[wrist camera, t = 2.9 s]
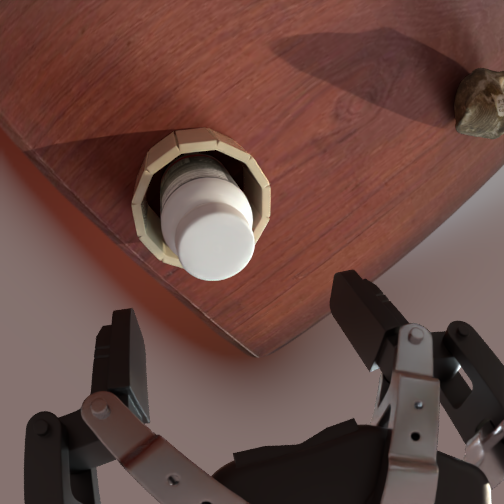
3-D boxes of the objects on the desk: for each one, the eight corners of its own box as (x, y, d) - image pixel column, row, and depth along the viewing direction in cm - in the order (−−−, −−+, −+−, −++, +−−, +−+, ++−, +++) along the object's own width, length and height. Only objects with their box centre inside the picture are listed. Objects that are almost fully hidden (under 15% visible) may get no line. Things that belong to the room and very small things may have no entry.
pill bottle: (231, 211, 26) (268, 282, 18) (166, 222, 25) (173, 301, 17) (226, 146, 23) (266, 190, 15) (154, 157, 22) (152, 210, 14)
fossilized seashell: (501, 56, 21) (440, 64, 22) (540, 97, 18) (484, 111, 20) (486, 99, 28) (429, 114, 29) (518, 139, 25) (462, 159, 26)
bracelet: (122, 215, 23) (115, 247, 19) (166, 110, 20) (167, 118, 16) (220, 248, 27) (233, 283, 23) (270, 157, 24) (294, 176, 20)
